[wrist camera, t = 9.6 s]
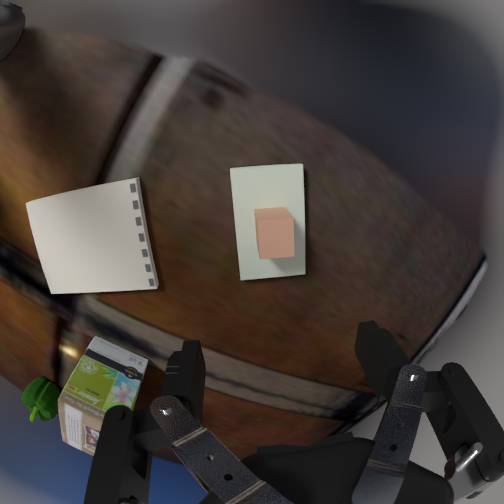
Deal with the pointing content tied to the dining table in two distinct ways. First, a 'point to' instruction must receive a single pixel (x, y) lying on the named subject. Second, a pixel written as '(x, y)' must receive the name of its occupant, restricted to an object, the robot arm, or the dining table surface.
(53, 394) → the bell pepper
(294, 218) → the stub
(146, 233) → the white notebook
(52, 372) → the dining table surface
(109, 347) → the tea box
